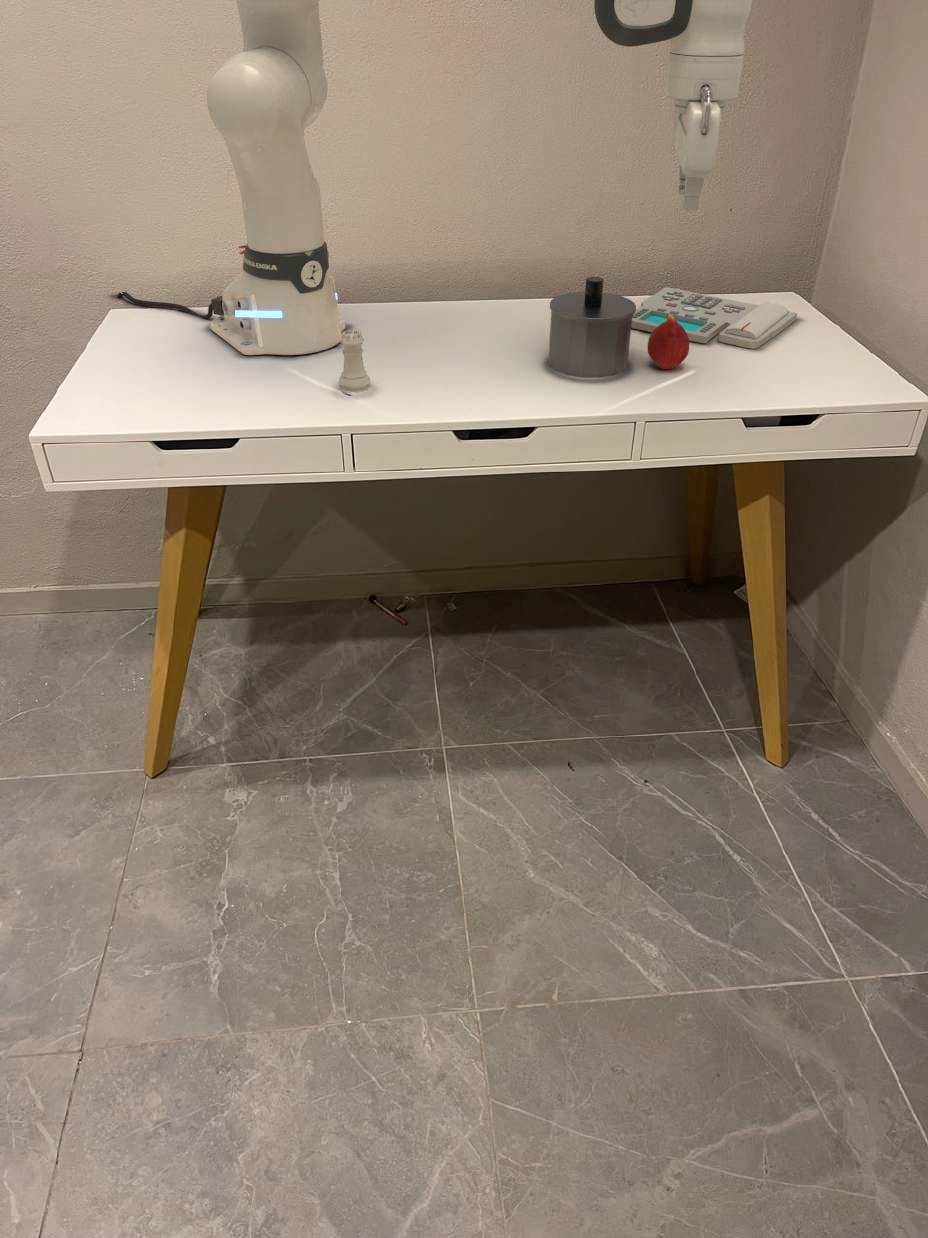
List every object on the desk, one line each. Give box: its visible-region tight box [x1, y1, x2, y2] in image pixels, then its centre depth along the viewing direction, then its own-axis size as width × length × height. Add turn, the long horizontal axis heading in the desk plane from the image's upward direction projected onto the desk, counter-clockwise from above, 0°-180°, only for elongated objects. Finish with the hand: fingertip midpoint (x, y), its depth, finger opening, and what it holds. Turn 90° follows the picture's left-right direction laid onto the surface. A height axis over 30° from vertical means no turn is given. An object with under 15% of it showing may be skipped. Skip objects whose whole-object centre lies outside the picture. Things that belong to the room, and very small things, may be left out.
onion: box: [647, 315, 690, 370], centre depth 137 cm, size 6×6×8 cm
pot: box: [547, 310, 632, 379], centre depth 138 cm, size 11×11×8 cm
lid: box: [549, 276, 637, 322], centre depth 134 cm, size 12×12×5 cm
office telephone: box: [631, 286, 798, 350], centre depth 155 cm, size 23×3×20 cm
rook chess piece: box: [338, 329, 372, 397], centre depth 130 cm, size 4×4×8 cm
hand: (687, 201), depth 126 cm, fingers open, 8 cm apart
